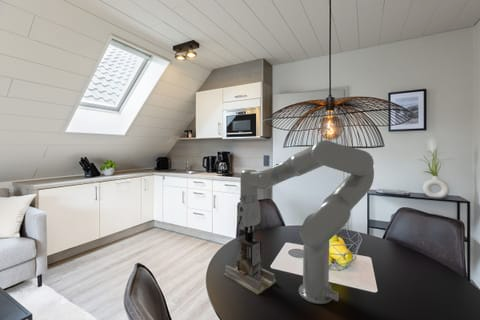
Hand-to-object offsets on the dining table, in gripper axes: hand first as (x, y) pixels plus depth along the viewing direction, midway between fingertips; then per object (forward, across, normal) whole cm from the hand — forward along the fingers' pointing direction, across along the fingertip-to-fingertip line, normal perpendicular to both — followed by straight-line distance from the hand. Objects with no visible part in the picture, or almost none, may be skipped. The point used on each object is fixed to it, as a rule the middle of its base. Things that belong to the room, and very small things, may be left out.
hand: (248, 240), depth 104 cm
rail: (+17, 0, 0) cm, 17 cm away
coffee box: (+16, 0, 0) cm, 16 cm away
